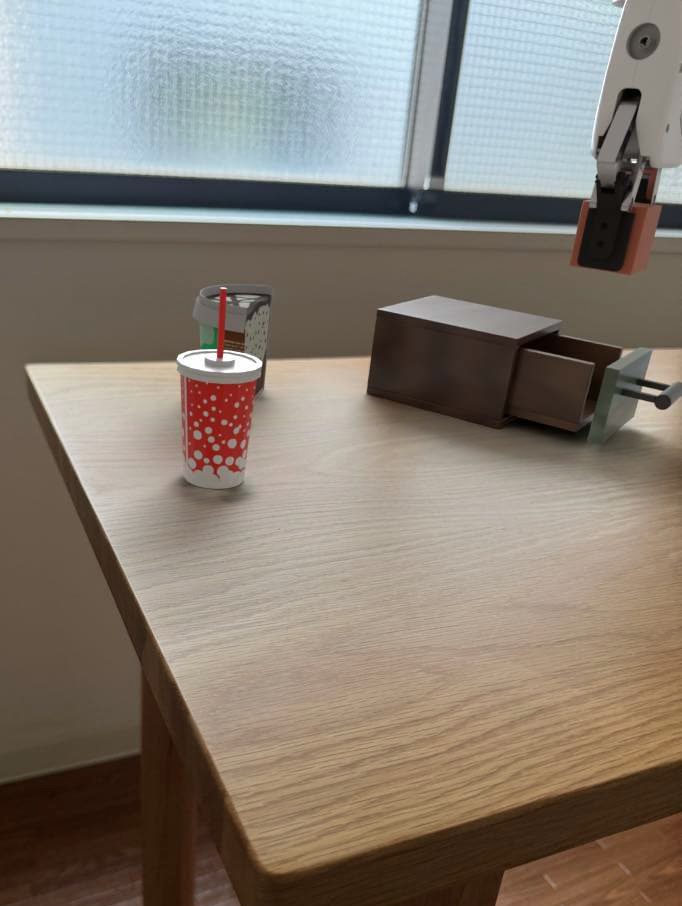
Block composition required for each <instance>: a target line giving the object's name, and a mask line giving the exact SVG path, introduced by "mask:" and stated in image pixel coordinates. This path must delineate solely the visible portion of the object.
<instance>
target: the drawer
mask: <svg viewBox="0 0 682 906" xmlns="http://www.w3.org/2000/svg"><path fill="white" fill-rule="evenodd" d="M518 347H519V348H518V353H517V358H516V363H515V367H514V372H513V377H512V382H511V387H510V391H509V396H508V401H507V406H506V410H505V414H508V415H512V416H516V417H518V418H520V419H523V420H528V421H532V422H534V423H538V424H543V425H548V426H551V427H553V428H554V427H555V428H558V429H562V430H566V431H569V432H573V433H577V432H578V431H580V430H581V429H582V428H584V427H585V426H587V425H588V424H589V423H591V424H590V427H589V428H590V429H589V432H588V436H587V440H586V441H587V442H589V443H592V444H596V445H602V444H603V443H604V442H605V441H606V440H607V439H609V438H610V437H611V436H612V435H614V434H615V433H616V432H617V431H618V430H620V429H621V428H623V427H624V426H625V425H626V424H627V423H628V422H630V421H631V420H632V419H633V418H634V417H635V415H636V412H637V407H638V404H639V401H644V402H648V403H653V405H654V406H655V408H656V409H657V410H660V411H665V410H667V409H669V408H670V407H671V406H672V405H673V404H675V403H676V402H677V401H678V400H679V399H681V398H682V382H681V381H675V382H673V383H671V384H670V383H669V384H668V383H663V382H659V381H655V380H650V379H646V376H647V371H648V369H649V364H650V361H651V357H652V353H653V352H654V351H653V348H647V347H642V346H640V347H638V348H636V349H634V350H633V351H631V352H629V353H628V354H626V355H624V356H623V351H624V346H620V345H615V344H609V343H604V342H600V341H597V340H596V341H595V340H591V339H585V338H582V337H581V338H580V337H575V336H572V335H566V334H561V333H560V334H557V333H549V334H547V335H545V336H542V337H540V338H537V339H535V340H533V341H530V342H528V343H525V344H523V345H521V346H518ZM643 388H648V389H652V390H657V391H661V392H660V393H659V394H658V395H657V394H652V393H648V392H644V391H642V390H643Z"/></svg>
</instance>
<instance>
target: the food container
mask: <svg viewBox="0 0 682 906" xmlns="http://www.w3.org/2000/svg"><path fill="white" fill-rule="evenodd" d="M220 288H227V295H226V315H225V334H224V350H227V351H235V352H240V353H245V354H248V355H251V356H254V357H257V358H258V359H259V360H260V361H262V369H261V376H260V378H258V379H257V382H256V390H255V397H254V402H255V401H256V400H257V399H258V398H259V396H261V394H262V392H263V391H264V390H265V383H266V374H267V363H268V352H269V344H270V343H269V341H270V332H271V331H270V330H271V321H272V310H273V307H274V295H275V293H274V286H272V285H264V284H248V283H245V284H244V283H243V284H242V283H232V284H231V283H229V284H218V285H212V286H210V285H209V286H206V287H204V288H201V290H200V291H199V295H198V296H197V297H196V299H195V303H194V307H193V310H192V311H193V312H192V318H193V319H194V320H196V321H197V322H198V323H199V343H200V345H199V346H200V350H214V349H216V350H217V340H218V319H219V298H220Z"/></svg>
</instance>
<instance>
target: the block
mask: <svg viewBox="0 0 682 906" xmlns="http://www.w3.org/2000/svg"><path fill="white" fill-rule="evenodd" d="M589 205H590V199H586V200H583V201H582V204H581V209H580V213H579V219H578V223H577V226H576V231H575V236H574V241H573V246H572V250H571V255H570V260H569V263H568V265H569V266H571V267H577V268H581V269H582V268H583V269H587V270H588V269H589V270H596V271H601V272H608V273H614V274H622V275H627V276H632V275H634V274H636V273H639V272H641V271H644V270H646V269H647V267H648V263H649V258H650V255H651V250H652V247H653V243H654V239H655V236H656V233H657V229H658V228H657V227H658V224H659V220H660V216H661V212H662V208H663V205H662V204H645V203H637V202H634V204H633V207H632V210H631V212H630V213H635V218H634V223H633V227H632V231H631V235H630V239H629V243H628V247H627V251H626V255H625V259H624V263H623V267H622V268H621V269H620V270H619V271H616V272H614V271H608V270H601V269H595V268H588V267H582V266H579V265H578V263H577V259H578V255H579V250H580V245H581V241H582V236H583V232H584V227H585V223H586V218H587V214H588V209H589V208H590V207H589Z"/></svg>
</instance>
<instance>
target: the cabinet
mask: <svg viewBox="0 0 682 906" xmlns="http://www.w3.org/2000/svg"><path fill="white" fill-rule="evenodd" d="M563 324H564V320H562V319H557V318H552V317H547V316H542V315H538V314H532V313H526V312H521V311H516V310H511V309H507V308H501V307H496V306H491V305H487V304H480V303H475V302H471V301H465V300H460V299H456V298H450V297H445V296H440V295H434V294H431V295H429V296H424V297H421V298H416V299H412V300H408V301H403V302H400V303H395V304H392V305H387V306H384V307H379V308H376V315H375V323H374V331H373V338H372V345H371V354H370V361H369V368H368V376H367V383H366V394H368V395H372V396H374V397H375V396H376V397H379V398H382V399H387V400H390V401H394V402H397V403H401V404H405V405H409V406H412V407H416V408H420V409H423V410H427V411H429V412H434V413H438V414H442V415H446V416H449V417H453V418H457V419H460V420H464V421H467V422H471V423H475V424H479V425H482V426H486V427H489V428H493V429H497V430H500V429H501V428H503V427H505V426H506V425H508V424H510V423H512V422H513V421H515V420H517V419H518V418H519V417H516V416H512V415H508V414H505V410H506V406H507V401H508V396H509V391H510V387H511V382H512V377H513V372H514V367H515V363H516V358H517V353H518V348H519V347H518V346H521V345H523V344H525V343H528V342H530V341H533V340H535V339H537V338H540V337H542V336H545V335H547V334H549V333H557V334H561V331H562V327H563Z"/></svg>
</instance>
